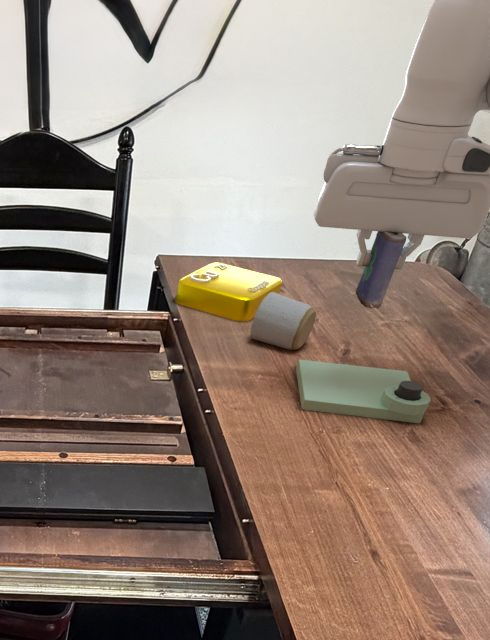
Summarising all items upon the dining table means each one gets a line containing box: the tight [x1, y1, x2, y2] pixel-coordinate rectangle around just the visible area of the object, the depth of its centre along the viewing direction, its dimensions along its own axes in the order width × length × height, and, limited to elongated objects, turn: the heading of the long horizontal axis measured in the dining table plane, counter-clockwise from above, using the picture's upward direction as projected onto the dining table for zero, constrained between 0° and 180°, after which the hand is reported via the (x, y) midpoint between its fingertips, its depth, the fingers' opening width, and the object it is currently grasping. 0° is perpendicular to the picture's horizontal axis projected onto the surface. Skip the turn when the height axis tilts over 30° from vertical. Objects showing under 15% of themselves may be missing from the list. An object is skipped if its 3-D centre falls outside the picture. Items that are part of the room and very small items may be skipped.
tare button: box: [395, 380, 424, 401], centre depth 99 cm, size 3×3×2 cm
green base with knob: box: [295, 359, 432, 424], centre depth 105 cm, size 16×15×4 cm
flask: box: [355, 231, 407, 310], centre depth 96 cm, size 9×3×11 cm, turn 164°
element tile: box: [174, 261, 283, 322], centre depth 132 cm, size 15×15×5 cm
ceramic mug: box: [250, 292, 317, 351], centre depth 118 cm, size 11×8×8 cm
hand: (378, 266), depth 96 cm, fingers closed on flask, 3 cm apart
